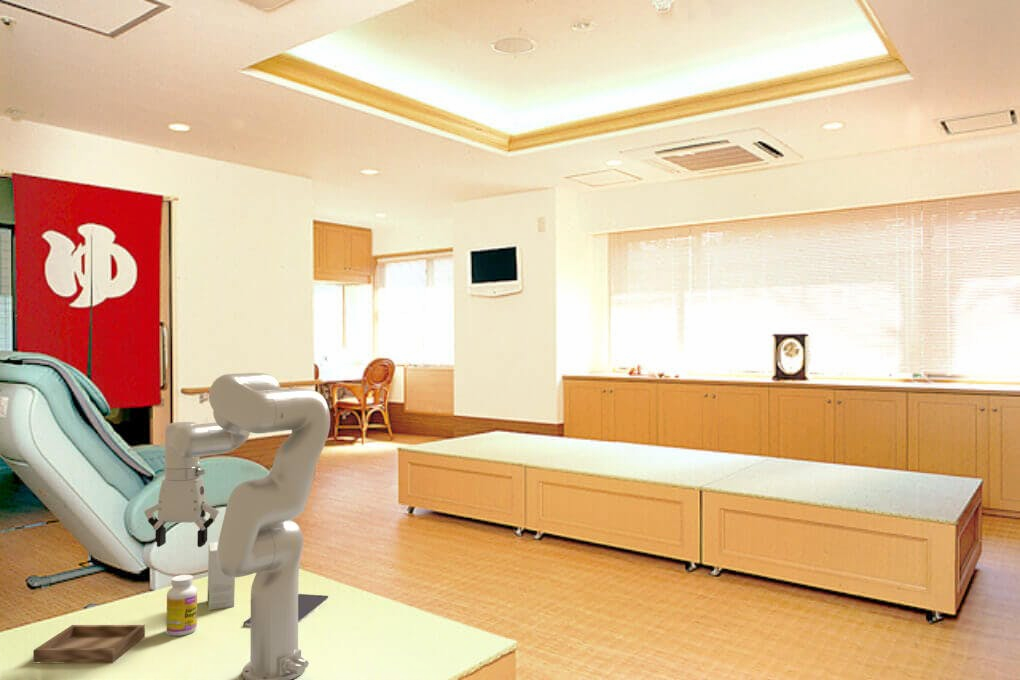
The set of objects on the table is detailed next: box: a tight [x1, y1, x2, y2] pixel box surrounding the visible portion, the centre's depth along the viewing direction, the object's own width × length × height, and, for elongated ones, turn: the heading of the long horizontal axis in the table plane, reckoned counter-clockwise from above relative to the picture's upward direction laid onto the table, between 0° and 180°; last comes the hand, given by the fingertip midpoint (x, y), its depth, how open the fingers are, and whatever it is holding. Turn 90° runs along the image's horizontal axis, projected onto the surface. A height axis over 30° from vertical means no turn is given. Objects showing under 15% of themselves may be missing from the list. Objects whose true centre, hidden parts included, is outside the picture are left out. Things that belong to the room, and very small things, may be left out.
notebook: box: [243, 593, 329, 627], centre depth 187 cm, size 13×2×21 cm
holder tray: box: [32, 624, 146, 664], centre depth 164 cm, size 17×14×3 cm
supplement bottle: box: [166, 574, 198, 637], centre depth 174 cm, size 7×7×13 cm
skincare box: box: [207, 541, 236, 611], centre depth 193 cm, size 8×7×16 cm
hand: (181, 545), depth 174 cm, fingers open, 9 cm apart
